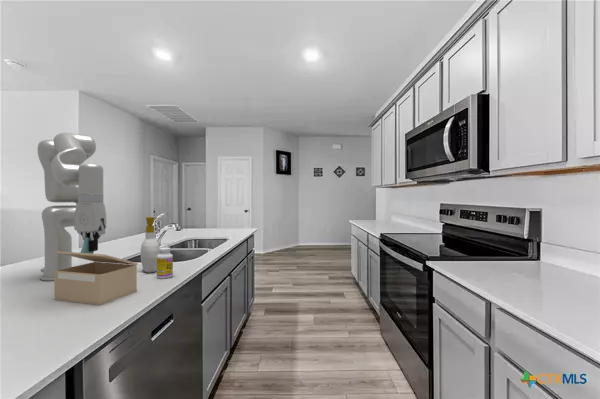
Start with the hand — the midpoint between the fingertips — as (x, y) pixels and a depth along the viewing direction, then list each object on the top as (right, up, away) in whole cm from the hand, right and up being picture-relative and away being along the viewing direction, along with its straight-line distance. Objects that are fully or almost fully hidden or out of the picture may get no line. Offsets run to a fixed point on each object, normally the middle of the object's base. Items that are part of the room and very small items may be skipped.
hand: (91, 250), depth 114 cm
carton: (+1, -17, +3) cm, 17 cm away
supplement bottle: (+14, -17, +29) cm, 36 cm away
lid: (+1, -4, +3) cm, 5 cm away
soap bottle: (+3, -16, +40) cm, 44 cm away
